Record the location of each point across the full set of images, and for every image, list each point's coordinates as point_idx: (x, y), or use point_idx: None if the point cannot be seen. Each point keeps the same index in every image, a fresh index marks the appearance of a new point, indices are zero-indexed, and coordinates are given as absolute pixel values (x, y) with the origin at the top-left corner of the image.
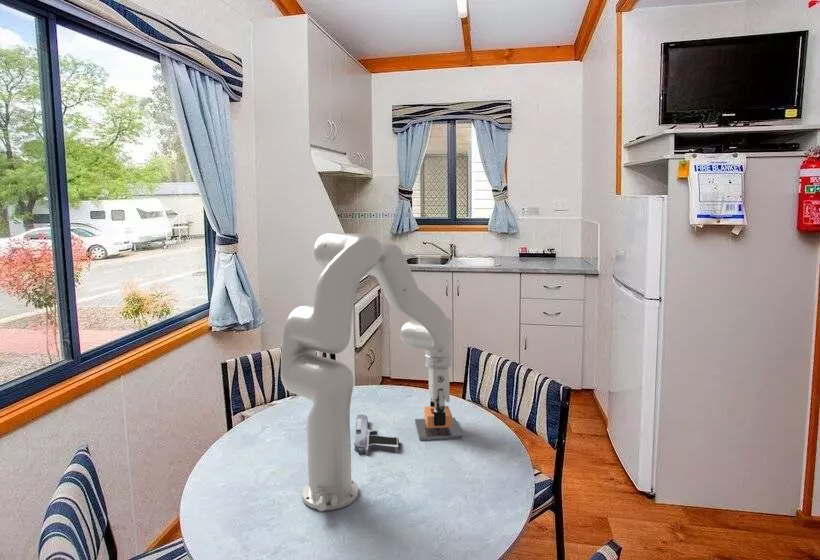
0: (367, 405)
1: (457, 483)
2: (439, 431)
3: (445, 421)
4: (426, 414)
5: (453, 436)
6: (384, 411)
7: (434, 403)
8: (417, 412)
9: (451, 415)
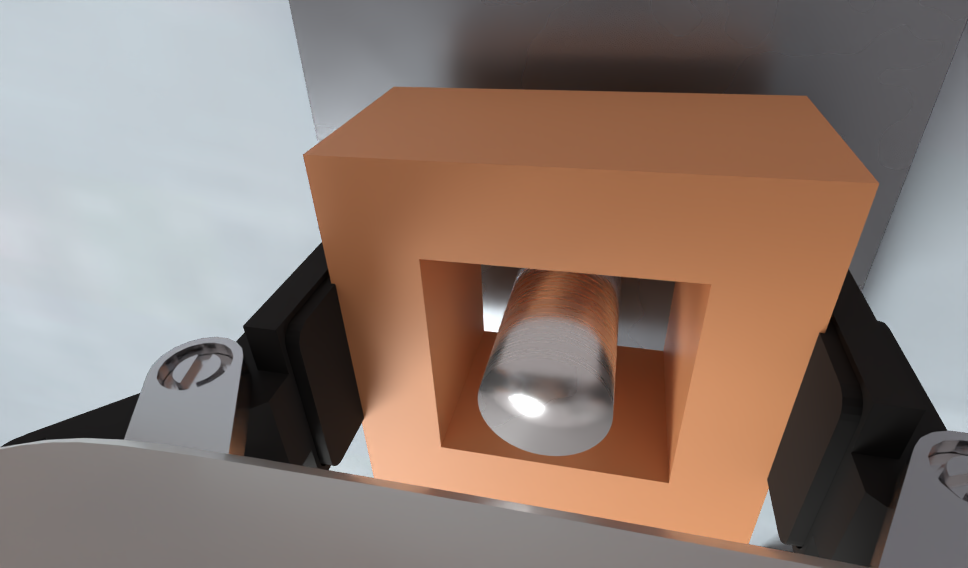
0: None
1: None
2: None
3: (850, 272)
4: (627, 517)
5: (937, 71)
6: None
7: (331, 416)
8: (166, 308)
9: (871, 197)
